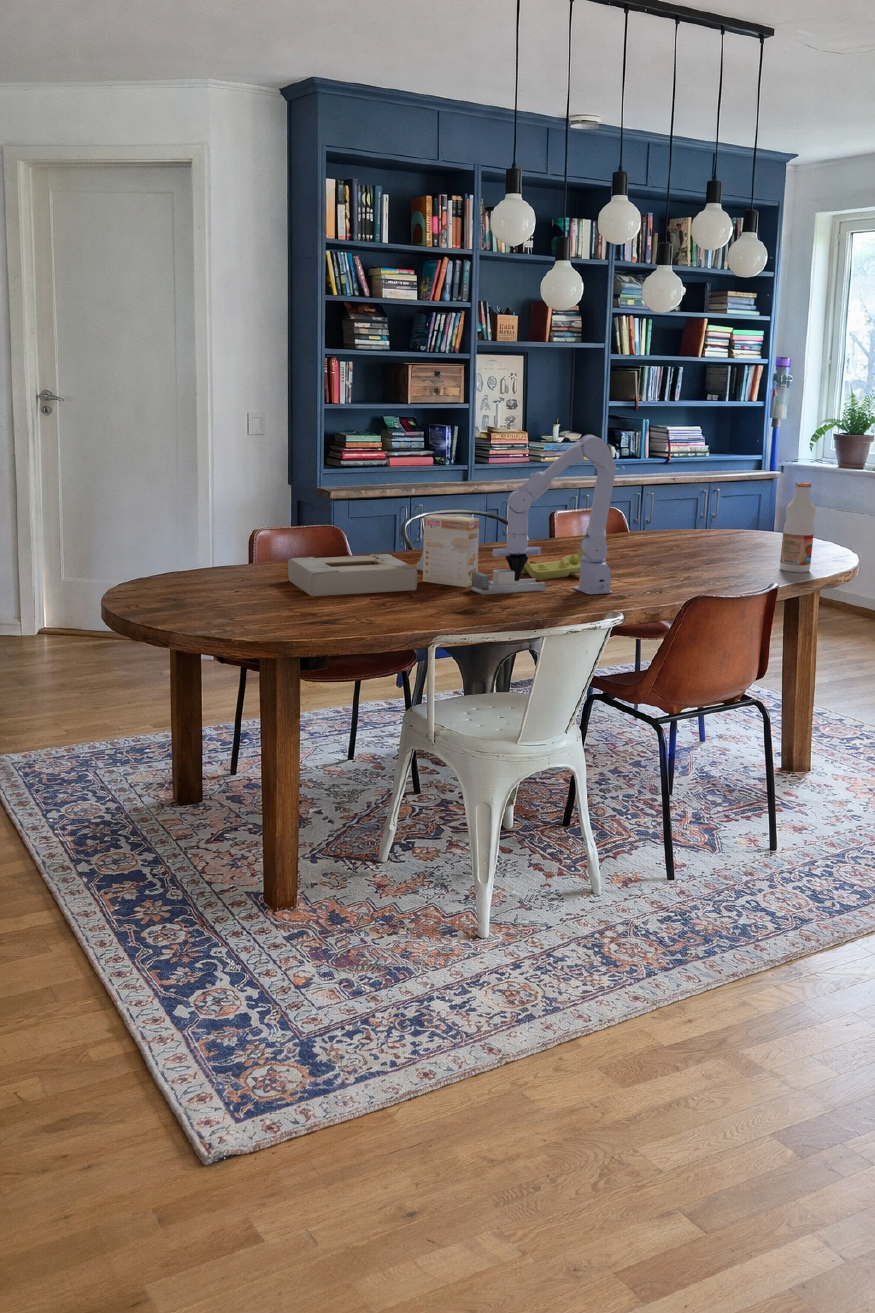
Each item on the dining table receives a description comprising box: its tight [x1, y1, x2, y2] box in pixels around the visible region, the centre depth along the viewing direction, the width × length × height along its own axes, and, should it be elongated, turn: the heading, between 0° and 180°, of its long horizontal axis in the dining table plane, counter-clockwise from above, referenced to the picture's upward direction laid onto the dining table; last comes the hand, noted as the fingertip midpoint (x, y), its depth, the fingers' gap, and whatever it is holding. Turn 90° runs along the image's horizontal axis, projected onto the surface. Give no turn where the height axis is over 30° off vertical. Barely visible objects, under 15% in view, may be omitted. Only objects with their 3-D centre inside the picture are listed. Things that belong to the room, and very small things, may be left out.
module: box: [492, 568, 515, 585], centre depth 337 cm, size 4×5×5 cm
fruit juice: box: [779, 481, 816, 573], centre depth 376 cm, size 9×9×28 cm
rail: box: [471, 571, 546, 595], centre depth 337 cm, size 7×20×5 cm, turn 113°
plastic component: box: [521, 549, 584, 580], centre depth 361 cm, size 20×7×10 cm
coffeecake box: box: [422, 513, 480, 588], centre depth 344 cm, size 15×7×20 cm, turn 59°
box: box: [287, 553, 418, 597], centre depth 339 cm, size 23×8×32 cm
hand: (515, 580), depth 338 cm, fingers closed
